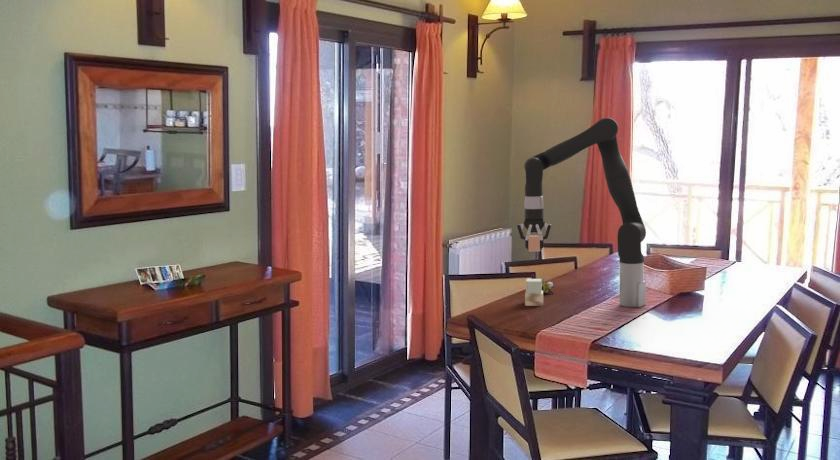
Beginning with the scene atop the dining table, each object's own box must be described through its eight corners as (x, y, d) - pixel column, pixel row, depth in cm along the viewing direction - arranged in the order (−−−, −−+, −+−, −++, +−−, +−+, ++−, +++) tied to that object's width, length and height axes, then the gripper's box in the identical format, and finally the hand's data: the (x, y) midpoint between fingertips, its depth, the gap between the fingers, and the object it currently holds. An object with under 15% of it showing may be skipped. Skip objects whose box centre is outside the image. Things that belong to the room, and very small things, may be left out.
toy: (549, 292, 327) (562, 287, 339) (536, 280, 329) (550, 275, 342) (539, 303, 329) (553, 298, 342) (527, 291, 332) (541, 287, 345)
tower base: (543, 302, 321) (543, 290, 321) (542, 306, 314) (542, 294, 314) (526, 302, 323) (525, 290, 322) (525, 306, 316) (525, 293, 315)
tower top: (541, 290, 320) (541, 278, 320) (541, 293, 315) (541, 281, 314) (526, 290, 322) (526, 278, 321) (526, 293, 316) (526, 281, 315)
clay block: (540, 250, 318) (540, 235, 317) (539, 251, 314) (539, 236, 313) (529, 250, 319) (529, 235, 318) (528, 251, 315) (528, 236, 314)
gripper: (552, 206, 316) (552, 248, 318) (516, 206, 319) (517, 248, 321) (551, 208, 309) (551, 250, 311) (515, 208, 312) (515, 250, 314)
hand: (534, 249), depth 316 cm, fingers closed on clay block, 4 cm apart
